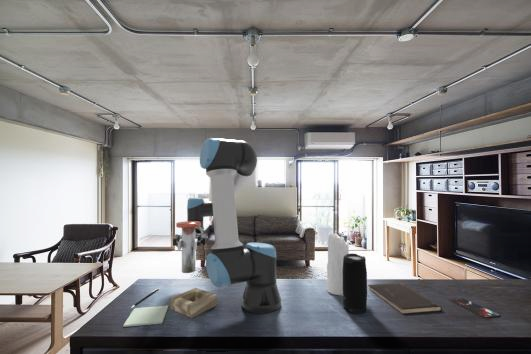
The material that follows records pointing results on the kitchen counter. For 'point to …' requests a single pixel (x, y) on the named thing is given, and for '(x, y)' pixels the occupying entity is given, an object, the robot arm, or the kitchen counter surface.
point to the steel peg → (188, 244)
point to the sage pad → (146, 316)
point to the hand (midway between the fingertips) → (186, 246)
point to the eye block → (193, 302)
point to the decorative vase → (335, 263)
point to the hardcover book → (404, 298)
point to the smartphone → (474, 308)
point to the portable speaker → (354, 283)
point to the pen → (145, 297)
